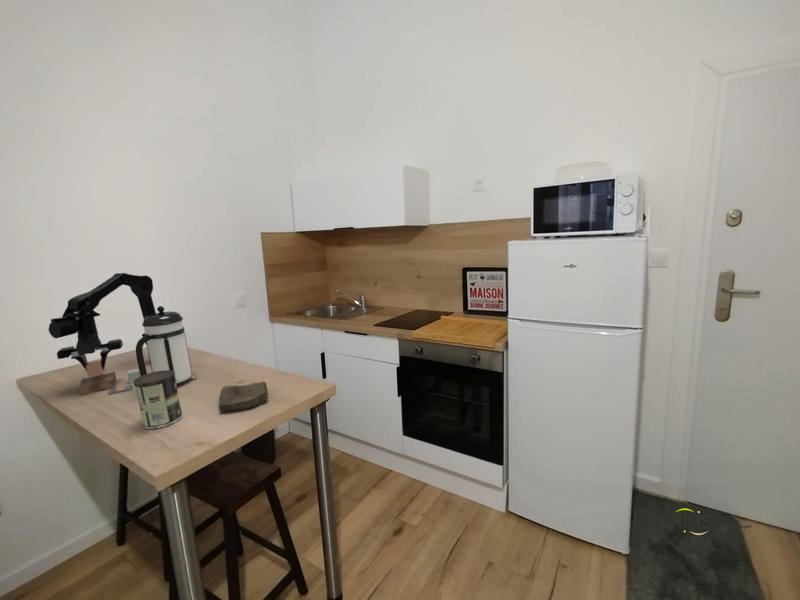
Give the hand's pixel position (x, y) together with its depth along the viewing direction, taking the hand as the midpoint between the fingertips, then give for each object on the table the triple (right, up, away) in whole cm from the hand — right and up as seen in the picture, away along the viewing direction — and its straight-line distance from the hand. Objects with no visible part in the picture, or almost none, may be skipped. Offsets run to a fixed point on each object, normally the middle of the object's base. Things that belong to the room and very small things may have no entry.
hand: (96, 370), depth 145 cm
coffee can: (+44, -10, -30) cm, 54 cm away
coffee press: (+30, -6, -2) cm, 31 cm away
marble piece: (+64, -7, -20) cm, 68 cm away
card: (+12, -7, -3) cm, 14 cm away
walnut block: (+1, -7, +1) cm, 7 cm away
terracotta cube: (0, -1, 0) cm, 1 cm away
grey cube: (+12, -5, +6) cm, 14 cm away
